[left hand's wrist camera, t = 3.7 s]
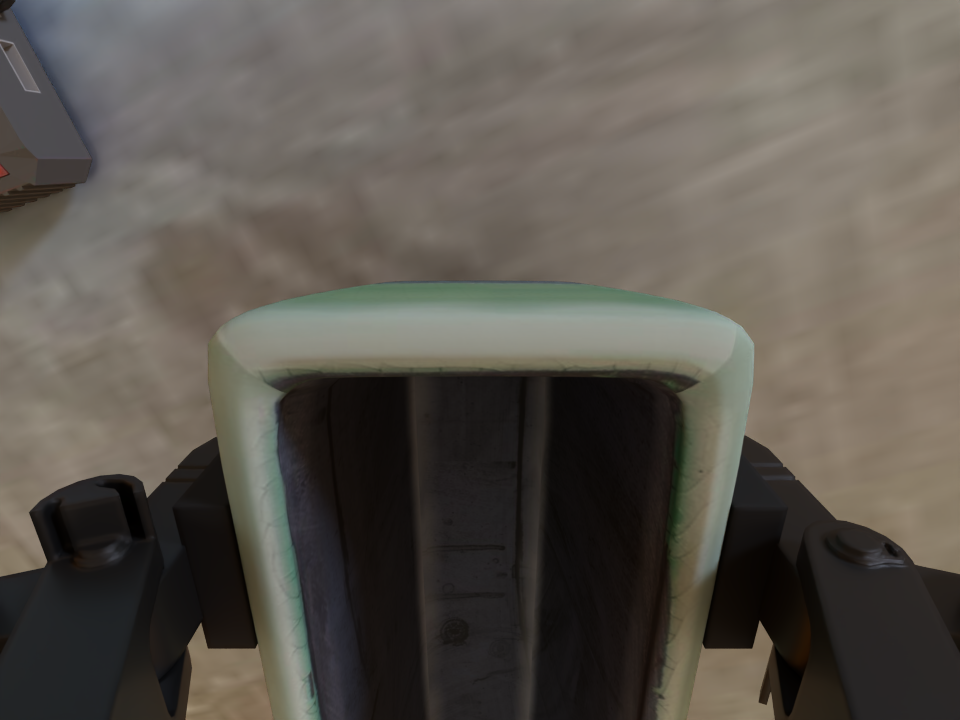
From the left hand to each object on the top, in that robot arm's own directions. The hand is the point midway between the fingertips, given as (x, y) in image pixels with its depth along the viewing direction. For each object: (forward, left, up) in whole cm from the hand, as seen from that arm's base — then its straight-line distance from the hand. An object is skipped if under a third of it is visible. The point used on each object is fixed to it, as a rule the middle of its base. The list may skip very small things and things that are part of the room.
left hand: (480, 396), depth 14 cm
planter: (+9, 0, -1) cm, 10 cm away
